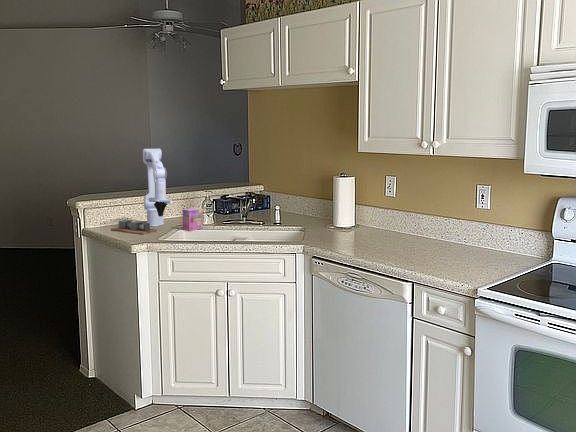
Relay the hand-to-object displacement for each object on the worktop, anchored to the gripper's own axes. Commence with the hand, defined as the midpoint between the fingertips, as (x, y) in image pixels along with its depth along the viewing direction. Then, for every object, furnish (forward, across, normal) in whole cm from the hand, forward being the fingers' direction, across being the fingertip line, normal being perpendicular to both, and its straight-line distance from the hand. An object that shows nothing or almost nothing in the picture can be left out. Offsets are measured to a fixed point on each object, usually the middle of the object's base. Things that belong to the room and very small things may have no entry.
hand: (160, 216), depth 313 cm
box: (+10, +8, +18) cm, 22 cm away
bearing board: (+9, -17, -2) cm, 20 cm away
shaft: (+8, -17, -2) cm, 19 cm away
